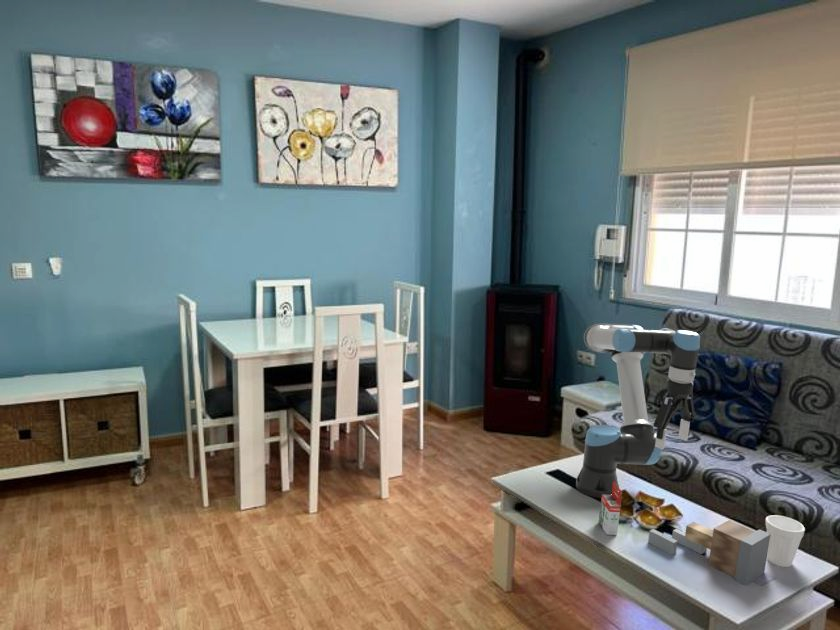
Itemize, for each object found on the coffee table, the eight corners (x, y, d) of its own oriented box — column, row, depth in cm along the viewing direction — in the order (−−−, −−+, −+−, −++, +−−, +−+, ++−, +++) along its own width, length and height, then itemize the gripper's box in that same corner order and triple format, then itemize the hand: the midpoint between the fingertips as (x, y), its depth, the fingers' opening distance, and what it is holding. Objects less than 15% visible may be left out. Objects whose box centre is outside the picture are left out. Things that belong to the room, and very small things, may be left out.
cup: (752, 553, 184) (758, 513, 182) (786, 556, 184) (792, 515, 182) (770, 573, 175) (777, 531, 172) (805, 575, 174) (813, 533, 172)
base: (660, 545, 186) (665, 506, 184) (679, 535, 193) (684, 497, 190) (746, 590, 166) (753, 546, 163) (765, 577, 172) (772, 534, 170)
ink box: (606, 535, 190) (611, 491, 188) (597, 522, 198) (602, 480, 196) (617, 535, 191) (622, 491, 188) (608, 522, 198) (613, 480, 196)
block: (708, 564, 175) (713, 528, 173) (724, 555, 180) (729, 520, 179) (736, 578, 169) (742, 541, 167) (751, 568, 174) (757, 532, 172)
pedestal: (647, 545, 185) (649, 530, 185) (651, 544, 187) (653, 528, 186) (671, 558, 179) (674, 542, 178) (675, 556, 180) (677, 541, 180)
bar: (684, 537, 183) (686, 525, 183) (691, 534, 186) (693, 521, 185) (731, 559, 172) (733, 546, 172) (738, 555, 175) (740, 542, 174)
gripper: (669, 389, 181) (660, 456, 185) (712, 377, 196) (702, 439, 200) (647, 382, 187) (638, 447, 191) (690, 371, 202) (681, 432, 206)
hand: (671, 443), depth 195 cm, fingers open, 13 cm apart
